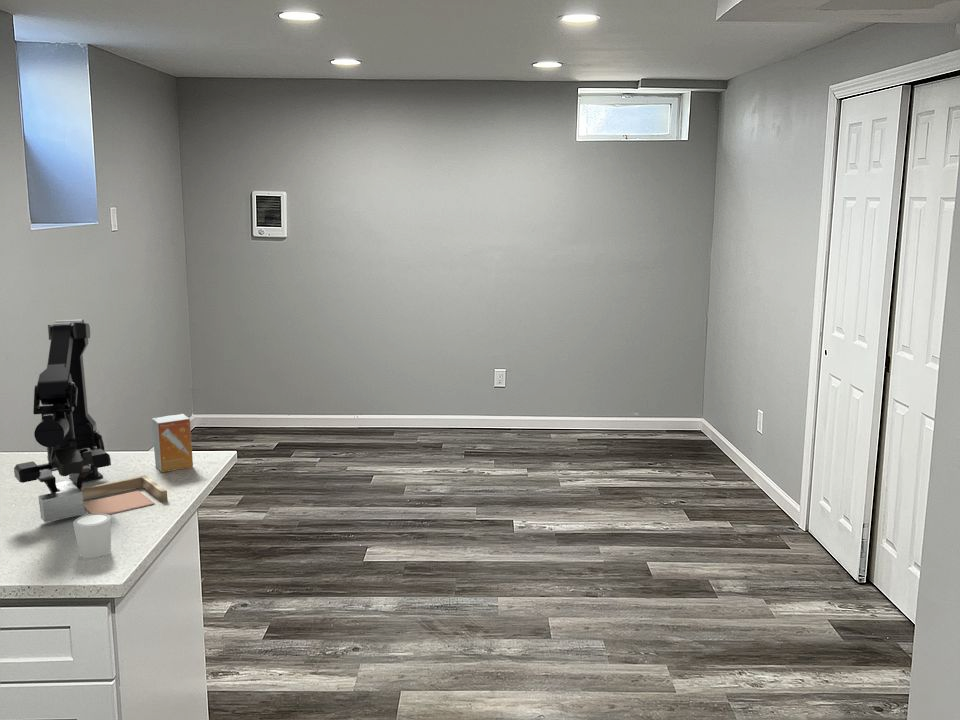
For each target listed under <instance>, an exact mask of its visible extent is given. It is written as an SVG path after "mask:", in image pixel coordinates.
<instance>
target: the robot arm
mask: <svg viewBox="0 0 960 720" xmlns="http://www.w3.org/2000/svg"><path fill="white" fill-rule="evenodd" d="M47 330H48V332H47V333H48V341H50V345H49V351H48V357H47V364H46V368H45V369H44V370H43V371H41V373H39V376H38V381H37V382H36V383H37V384H35V385H34V393H33V410H32V411H33V415H41V421H40V422H39V423H38V425H36V427H35V429H34V435H33V436H34V439H35V441H36V443H38V444H39V445H41V446H42V447H45V448H46V452H47V461H48V462H47V463H42V464H37V463H36V462H35V461H27V462H21V463H17V464H16V465H15V466H14V468H13V473H14V477H15V478H16V480H17V481H18V482H19V483H28V482H33V481H39V483H44V484H45V485H46V486H47V489H48V491H49V492H50V493H55V492H58V491H57V487H56V483H57V482H56V481H57V480H56V477H55V476H54V475H53V472H56V471H57V472H58V474H59V476H61V477H67V476H69V478H70V479H71V480H72V483H73V484H74V485H75V486H76V487H77V488H78V489H80V490H81V488H83V483H84V482H88V481H92V480H97V479H102V478H104V474H102V473H101V472H100V471H99V469H101V468H105V467H109V466H112V460H111V455H110V454H109V453H107V452H106V449H105V441H104V440H103V436H102V435H101V432H100V430H97V429H98V428H97V422H96V421H95V420H94V419H93V417H92V416H91V415H90V414H89V411H88V410H89V407H88V400H87V389H86V388H87V387H86V377H85V367H84V366H85V365H84V359H83V358H84V355H83V354H84V353H85V351H86V349H87V347H88V345H89V339H90V338H91V327H90V324H89V323H87V322H86V323H85V320H84V319H62V320H61V319H57V320H55V322H54V323H52V324H47Z"/></svg>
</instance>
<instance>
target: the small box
mask: <svg viewBox="0 0 960 720" xmlns="http://www.w3.org/2000/svg"><path fill="white" fill-rule="evenodd" d="M151 426H152V438H153V451H154V461H155V468H157V469H158V470H159V471H160V473H166V472H170V471H178V470H185V469H190V468H193V467H194V464H193V462H194V461H193V459H194V458H193V446H192V433H191V418H190V417H188V416H187V415H186V414H184V413H180V414H173V415H172V414H171V415H166V416H165V415H164V416H159V417H152V418H151Z"/></svg>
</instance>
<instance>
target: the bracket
mask: <svg viewBox="0 0 960 720" xmlns="http://www.w3.org/2000/svg"><path fill="white" fill-rule="evenodd" d="M56 487H57V491H58V492H55V493H51V492H50V493H46V494H42V495H38V504H39V505H38V507H39V512H40V518H41V520H42V521H43V522H44V523H49V522H53V521H59V520H63V519H68V518H71V517H76V516H81V515H85V508H84V505H83V503H84V500H83V495H82V491H81V490H80V489H78V488H77V487H76V486H75V485H74V484H73V481H71V480H65V481H61V482H60V481H59V482H56Z"/></svg>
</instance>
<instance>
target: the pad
mask: <svg viewBox="0 0 960 720" xmlns="http://www.w3.org/2000/svg"><path fill="white" fill-rule="evenodd" d="M83 505H84V510H86V512H88V513H89V515H90V514H107V515H109V514H110V515H114V514H118V512H119V513H122V512H121V511H123V512H126V511H125V510H128V511H130V509H132V510H135V509H134V508H136V509H140V508H139V507H141V508H144V506H145V507H149V506H154V505H155V501H152V500H151V499H150V498H149V497H147V496H146V495H145V494H144V493H142V492H141V491H140V490H135V491H130V492H126V493H122V494H116V495H112V496H107V497H104V498H98V499H95V500H93V499H92V500H90V501H88V500H87V501H85V502H84V501H83ZM148 505H149V506H148ZM113 513H114V514H113Z"/></svg>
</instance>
